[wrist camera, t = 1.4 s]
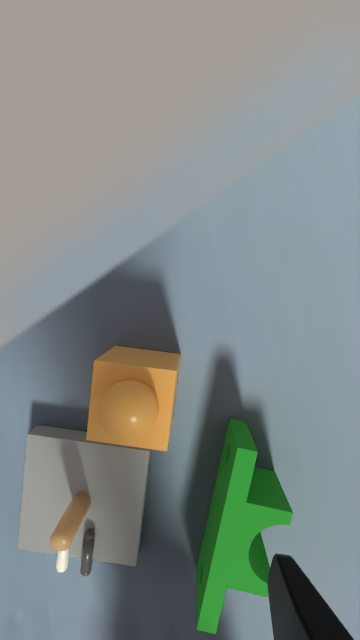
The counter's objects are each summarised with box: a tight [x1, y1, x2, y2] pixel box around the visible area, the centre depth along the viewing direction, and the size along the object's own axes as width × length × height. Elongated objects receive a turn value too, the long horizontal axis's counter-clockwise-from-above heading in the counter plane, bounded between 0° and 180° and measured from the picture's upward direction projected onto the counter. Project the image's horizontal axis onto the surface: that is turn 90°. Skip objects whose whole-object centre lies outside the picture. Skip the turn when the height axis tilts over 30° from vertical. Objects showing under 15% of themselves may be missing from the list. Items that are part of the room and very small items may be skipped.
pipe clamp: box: [196, 418, 293, 634], centre depth 21 cm, size 11×4×5 cm, turn 169°
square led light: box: [86, 346, 181, 451], centre depth 20 cm, size 4×4×6 cm
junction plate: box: [18, 425, 151, 576], centre depth 21 cm, size 9×8×5 cm
